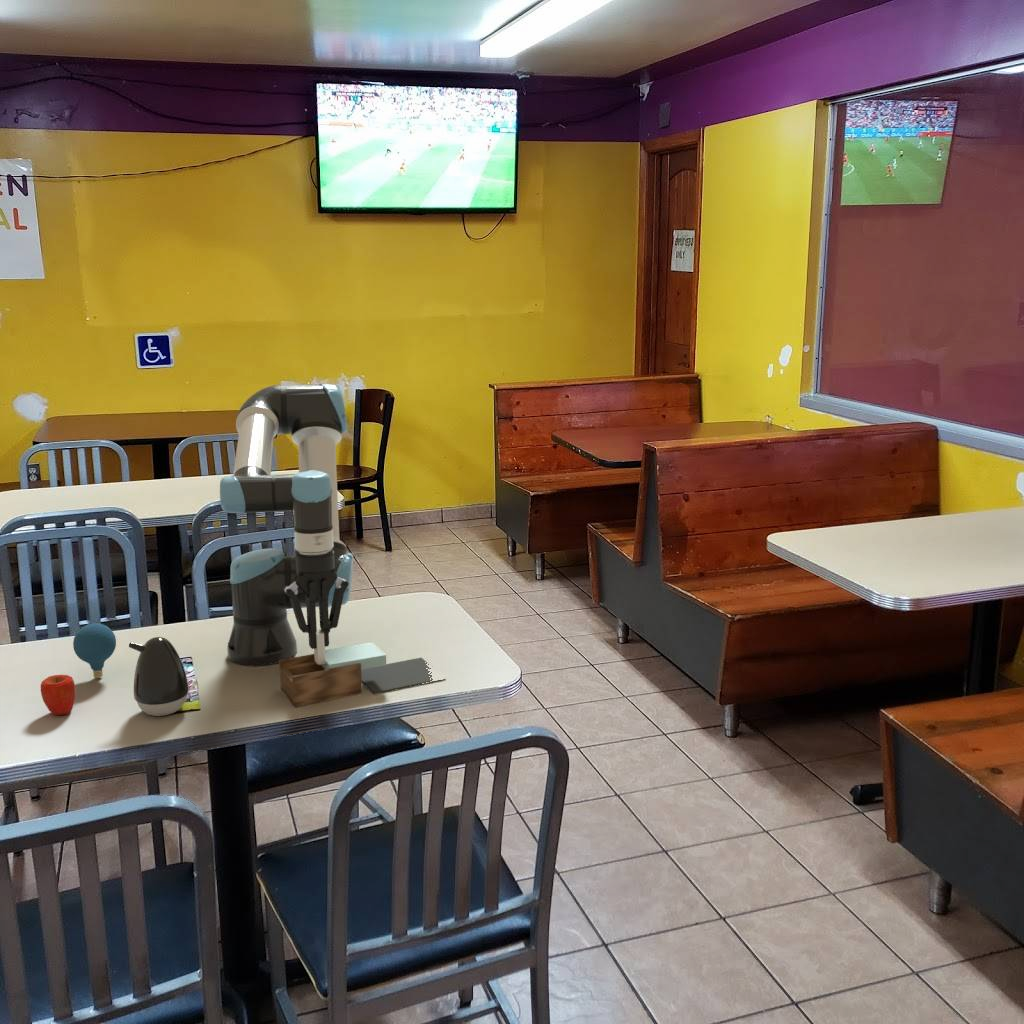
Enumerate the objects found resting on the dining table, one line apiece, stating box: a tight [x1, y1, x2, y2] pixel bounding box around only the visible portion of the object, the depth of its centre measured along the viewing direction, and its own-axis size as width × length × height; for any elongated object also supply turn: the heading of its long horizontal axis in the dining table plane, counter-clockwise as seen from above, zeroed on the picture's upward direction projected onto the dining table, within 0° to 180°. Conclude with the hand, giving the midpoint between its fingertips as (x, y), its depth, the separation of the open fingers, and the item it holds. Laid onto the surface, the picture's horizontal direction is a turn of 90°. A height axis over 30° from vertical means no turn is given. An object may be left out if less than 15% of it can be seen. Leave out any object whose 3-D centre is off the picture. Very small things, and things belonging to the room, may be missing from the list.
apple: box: [40, 674, 76, 716], centre depth 199 cm, size 6×6×8 cm
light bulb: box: [72, 622, 117, 679], centre depth 215 cm, size 8×8×12 cm
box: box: [278, 653, 363, 708], centre depth 209 cm, size 14×10×6 cm
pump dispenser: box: [128, 636, 190, 717], centre depth 199 cm, size 10×10×15 cm
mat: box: [361, 657, 433, 695], centre depth 217 cm, size 16×13×1 cm
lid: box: [321, 641, 387, 670], centre depth 211 cm, size 12×8×2 cm
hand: (319, 661), depth 208 cm, fingers closed
